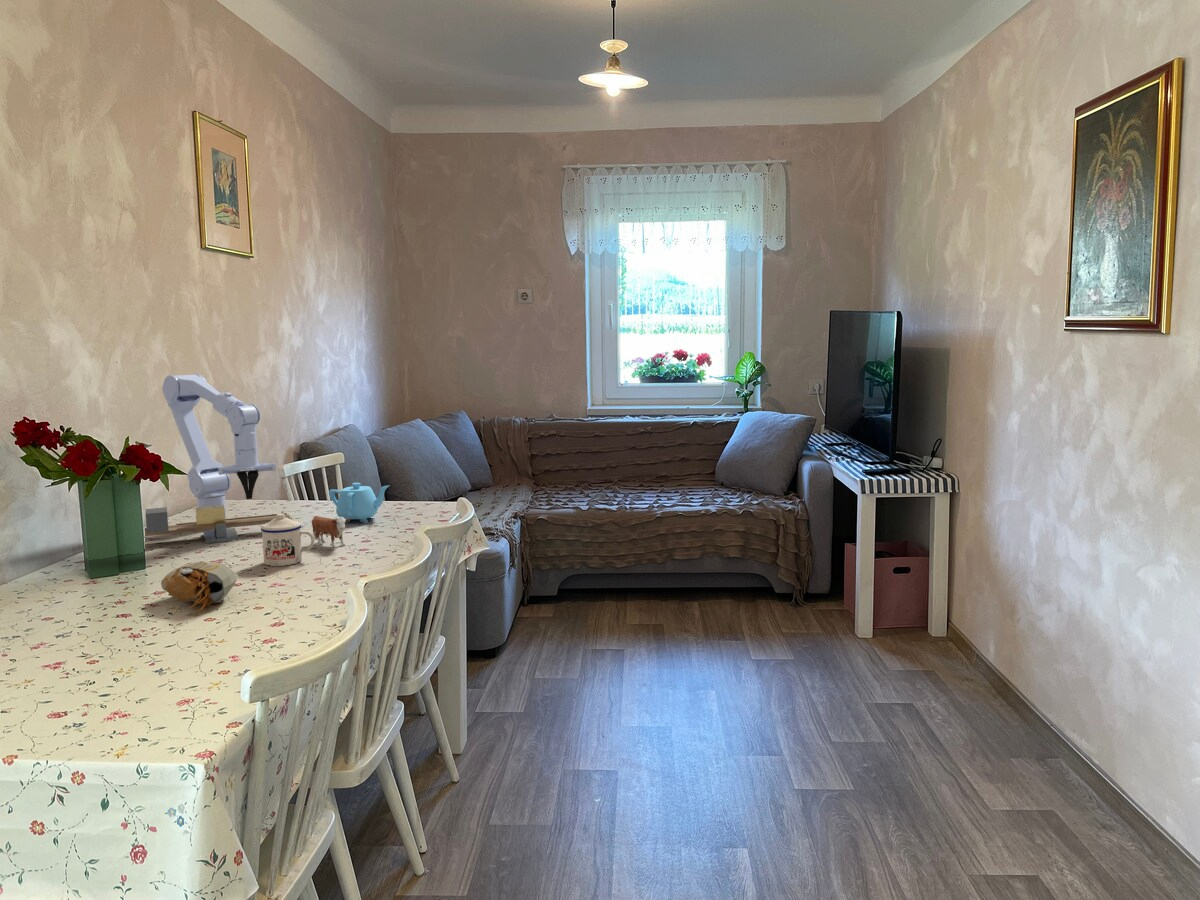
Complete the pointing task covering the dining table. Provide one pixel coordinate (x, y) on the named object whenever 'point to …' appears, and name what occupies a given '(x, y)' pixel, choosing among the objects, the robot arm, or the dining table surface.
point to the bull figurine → (328, 528)
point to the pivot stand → (220, 534)
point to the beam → (159, 522)
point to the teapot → (357, 502)
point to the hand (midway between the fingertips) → (249, 498)
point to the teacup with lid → (283, 541)
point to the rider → (210, 515)
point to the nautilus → (200, 583)
